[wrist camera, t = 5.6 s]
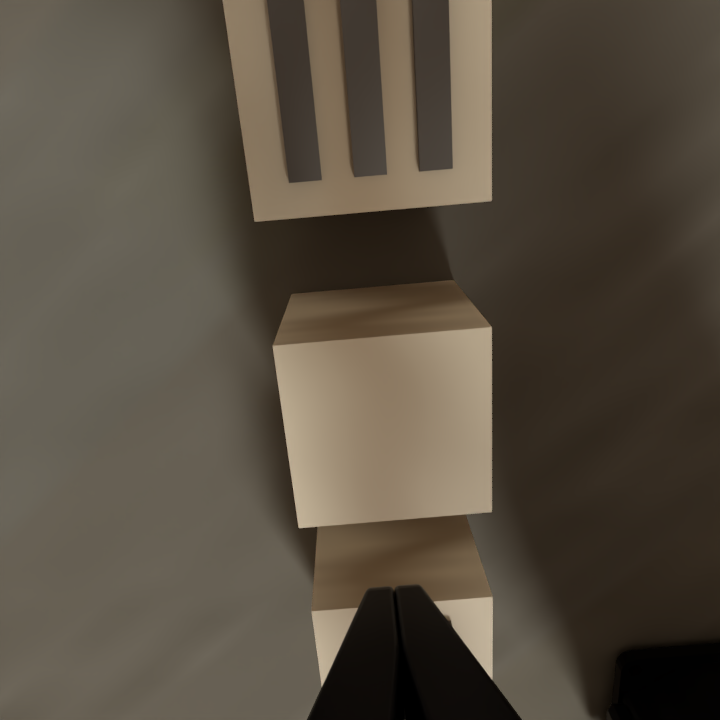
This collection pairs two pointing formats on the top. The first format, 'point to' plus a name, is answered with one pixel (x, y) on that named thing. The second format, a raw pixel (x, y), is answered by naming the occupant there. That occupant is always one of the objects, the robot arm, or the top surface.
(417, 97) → the three mark block
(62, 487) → the top surface
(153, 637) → the top surface
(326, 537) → the two mark block
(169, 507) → the top surface
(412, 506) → the plain block
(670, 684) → the robot arm
